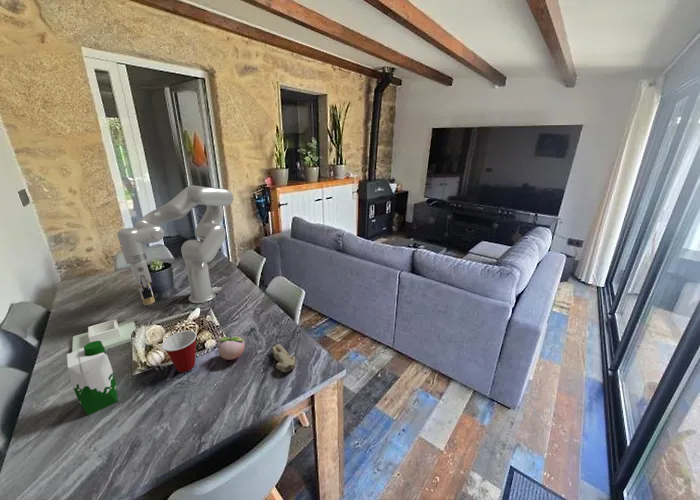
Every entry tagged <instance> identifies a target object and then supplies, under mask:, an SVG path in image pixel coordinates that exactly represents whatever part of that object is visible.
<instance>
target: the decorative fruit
mask: <svg viewBox="0 0 700 500" xmlns="http://www.w3.org/2000/svg"><path fill="white" fill-rule="evenodd" d="M217 342H219V344H218V348H217V349H218V350H217V351H218V353H219V356H220V357H221V358H222V359H224V360H230V361H231V360H235V359H237V358H238V359H239V357H240V356H241V355H242V354H243V353H244V351H245V345H246V344H245V340H244V338H243V337H240V336H237V335H235V336H232V337H231V335H229V336H228V337H226V336H225V337H224V336H223V337H222V338H220V339H219V340H217Z"/></svg>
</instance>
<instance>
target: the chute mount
mask: <svg viewBox="0 0 700 500" xmlns="http://www.w3.org/2000/svg"><path fill="white" fill-rule="evenodd" d="M135 329H136V330H137V327H136V324H135V320H134V319H133V318H132V319H131V318H130V319H128V320H126V321H125V320H124V321H122V322H118V321H117V318H115V319H114V318H113V319H111V320H107V321H105V322H100V323H97V324H94V325H89V326H88V327H87V330H88V331H87V332H84V333H80V334H77V335H74V336H72V349H71V350H72V351H71V353H72V352H75V351H78V350H79V349H82V348H84V346H85V345H87V344H88V343H91V342H94V341H101V342H102V345H103V346H104V348H105V351H106V350H108V349H112V348H114V347H118V346H122V345H125V344H127V343H130V342H132V341H131V334H132V332H133V331H134V330H135Z"/></svg>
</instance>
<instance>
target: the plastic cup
mask: <svg viewBox="0 0 700 500" xmlns="http://www.w3.org/2000/svg"><path fill="white" fill-rule="evenodd" d="M196 339H197V332H195V331H194V330H190V329H189V330H182V331H179V332H175V333H174V334H171V335H170V336H168V337H166V339H164V341H163V342H162V344H161V349H163V350H164V351H165V352H166V353H167V354H168V357H169V358H170V360H171V362H172V364H173V365H174V367H175V369H176V371H177V372H179V373H185V372H189V371H190V370H192V369H193V368H195V365H196V345H197V342H196V341H197V340H196Z"/></svg>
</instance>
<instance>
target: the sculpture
mask: <svg viewBox="0 0 700 500" xmlns="http://www.w3.org/2000/svg"><path fill="white" fill-rule="evenodd" d="M271 351H272V355H273V358H274V359H275V360H276V361H277V363H276V364H275V368H276V369H277V370H279V371H280V372H282V373H284V372H285V373H287V372H290V371H292V370H294V368H296V367H297V366H296V358H295V356H294V355H291V356H290V354H289V353H288V352H287V350H286V349H285V348H284V347H283V345H282V344H280V343H277V344H275V345H274V346H272V348H271Z"/></svg>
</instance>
